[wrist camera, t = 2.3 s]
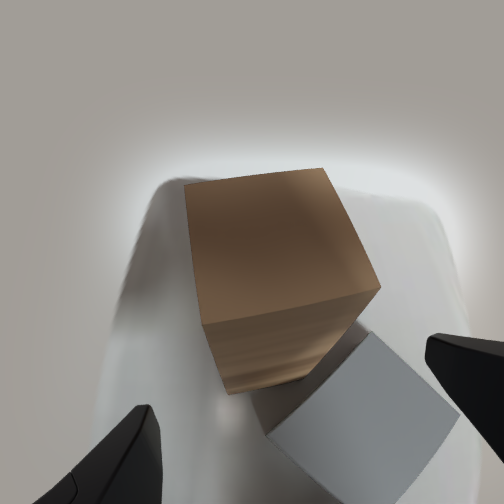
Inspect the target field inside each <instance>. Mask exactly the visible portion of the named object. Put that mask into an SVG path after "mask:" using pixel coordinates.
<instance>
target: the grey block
mask: <svg viewBox="0 0 504 504" xmlns="http://www.w3.org/2000/svg"><path fill="white" fill-rule="evenodd" d="M459 416H460V414H459V413H458V412H457V411H456V410H455V409H454V408H453V407H452V406H451V405H450V404H449V403H448V402H447V401H446V400H445V399H444V398H442V397H441V396H440V395H439V394H438V393H437V392H436V391H435V390H434V389H433V388H432V387H431V386H430V385H429V384H428V383H427V382H426V381H425V380H423V379H422V378H421V377H420V376H419V375H418V374H417V373H416V372H415V371H414V370H413V369H412V368H411V367H410V366H409V365H408V364H406V363H405V362H404V361H403V360H402V359H401V358H400V357H399V356H398V355H397V354H396V353H395V352H394V351H392V350H391V349H390V348H389V347H388V346H387V345H386V344H385V343H384V342H383V341H382V340H381V339H379V338H378V337H377V336H376V335H375V334H374V333H373V332H372V331H371V332H370V333H369V334H368V335H367V336H366V337H365V338H364V339H363V340H362V341H361V342H360V343H359V344H358V345H357V346H356V347H355V349H354V350H353V351H352V352H351V353H350V354H349V355H348V356H347V357H346V358H345V360H344V361H343V362H342V363H341V364H340V365H339V366H338V367H337V368H336V369H335V370H334V371H333V372H332V373H331V374H330V375H329V376H328V377H327V378H326V379H325V380H324V381H323V382H322V383H321V384H320V385H319V386H318V387H317V388H316V389H315V390H314V391H313V392H312V393H311V394H310V395H309V396H308V397H307V398H306V399H305V400H304V401H303V402H302V403H301V404H300V405H299V406H298V407H297V408H296V409H295V410H293V411H292V412H291V413H290V414H289V415H288V416H287V417H286V418H285V419H284V420H283V421H281V422H280V423H279V424H278V425H277V426H276V427H275V428H273V429H272V430H271V431H270V432H269V433H268V434H267V435H265V436H266V437H267V438H268V439H269V440H270V441H271V442H272V443H273V444H274V445H275V446H276V447H277V448H278V449H280V450H281V451H282V452H283V453H284V454H285V455H286V456H287V457H288V458H289V459H290V460H291V461H292V462H293V463H295V464H296V465H297V466H298V467H299V468H300V469H301V470H302V471H303V472H305V473H306V474H307V475H308V476H309V477H310V478H311V479H312V480H314V481H315V482H316V483H317V484H318V485H319V486H321V487H322V488H323V489H324V490H325V491H327V492H328V493H329V494H330V495H331V496H333V497H334V498H335V499H336V500H338V501H339V502H340V503H341V504H395V503H396V502H397V501H398V500H399V498H400V497H401V496H402V495H403V494H404V493H405V492H406V490H407V489H408V488H409V487H410V486H411V484H412V483H413V482H414V481H415V479H416V478H417V477H418V476H419V474H420V473H421V472H422V471H423V469H424V468H425V467H426V465H427V464H428V463H429V461H430V460H431V459H432V457H433V456H434V454H435V453H436V452H437V450H438V449H439V447H440V446H441V445H442V443H443V442H444V440H445V439H446V437H447V436H448V434H449V433H450V431H451V429H452V428H453V426H454V425H455V423H456V421H457V420H458V418H459Z"/></svg>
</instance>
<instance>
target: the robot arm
mask: <svg viewBox="0 0 504 504" xmlns="http://www.w3.org/2000/svg"><path fill="white" fill-rule="evenodd" d="M425 362H426V364H427V365H428V367H429V368H430V370H431V371H432V373H433V374H434V375H435V377H436V378H437V380H438V381H439V383H440V384H441V386H442V387H443V389H444V390H445V391H446V393H447V394H448V395H449V397H450V398H451V399H452V400H453V401H454V403H455V404H456V405H457V406H458V407H459V409H460V410H461V411H462V412H463V413H464V415H465V416H466V417H467V418H468V419H469V421H470V422H471V423H472V424H473V425H474V427H475V428H476V429H477V430H478V432H479V433H480V434H481V435H482V437H483V438H484V439H485V440H486V442H487V443H488V444H489V445H490V447H491V448H492V449H493V450H494V452H495V453H496V454H497V455H498V457H499V458H500V459H501V461H502V462H503V463H504V342H500V341H492V340H484V339H477V338H470V337H463V336H456V335H449V334H442V333H436V334H434V335H431V336H429V337H428V339H427V343H426V351H425ZM162 482H163V467H162V452H161V435H160V427H159V424H158V421H157V419H156V416H155V414H154V411H153V409H152V407H151V406H150V405H149V404H146V405H137V406H135V407H134V408H133V409H132V410H131V411H130V412H129V413H128V414H127V416H126V417H125V418H124V419H123V420H122V421H121V422H120V423H119V424H118V425H117V426H116V427H115V428H114V429H113V430H112V431H111V432H110V433H109V434H108V435H107V436H106V437H105V438H104V439H103V440H102V441H101V442H100V443H99V444H98V445H97V446H96V447H95V448H94V449H93V450H91V451H90V452H89V453H88V454H87V455H86V456H85V457H84V458H83V459H82V461H80V462H79V463H78V464H77V465H76V466H75V467H74V468H73V469H72V470H71V472H69V473H68V474H67V475H66V476H65V477H64V478H63V479H62V480H61V481H59V483H57V484H56V485H55V486H54V487H53V488H52V489H51V490H49V491H48V492H47V493H46V494H45V495H43V496H42V497H41V498H39V499H38V500H37V501H35V502H34V503H33V504H162Z"/></svg>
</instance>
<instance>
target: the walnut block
mask: <svg viewBox="0 0 504 504" xmlns="http://www.w3.org/2000/svg"><path fill="white" fill-rule="evenodd" d="M184 188H185V199H186V208H187V217H188V226H189V235H190V243H191V251H192V259H193V267H194V274H195V281H196V288H197V295H198V302H199V309H200V315H201V322H202V326H203V329H204V332H205V335H206V338H207V340H208V343H209V346H210V349H211V352H212V354H213V357H214V360H215V362H216V365H217V368H218V370H219V373H220V376H221V378H222V381H223V384H224V386H225V389H226V391H227V394H228V395H230V394H236V393H241V392H247V391H252V390H257V389H261V388H266V387H271V386H275V385H280V384H284V383H288V382H292V381H296V380H300V379H304V378H305V377H306V376H307V375H308V374H309V372H310V371H311V370H312V369H313V368H314V367H315V366H316V365H317V364H318V363H319V362H320V360H321V359H322V358H323V357H324V356H325V355H326V354H327V353H328V352H329V350H330V349H331V348H332V347H333V346H334V345H335V344H336V342H337V341H338V340H339V339H340V338H341V337H342V335H343V334H344V333H345V332H346V331H347V329H348V328H349V327H350V326H351V325H352V324H353V322H354V321H355V320H356V319H357V317H358V316H359V315H360V314H361V312H362V311H363V310H364V309H365V307H366V306H367V305H368V304H369V302H370V301H371V300H372V299H373V297H374V296H375V295H376V293H377V292H378V291H379V290H380V288H381V285H380V283H379V281H378V278H377V276H376V274H375V272H374V269H373V267H372V265H371V263H370V260H369V258H368V256H367V254H366V252H365V250H364V247H363V245H362V243H361V241H360V239H359V237H358V235H357V233H356V231H355V229H354V227H353V224H352V222H351V220H350V218H349V216H348V214H347V212H346V210H345V208H344V206H343V205H342V203H341V201H340V199H339V197H338V195H337V193H336V191H335V189H334V187H333V185H332V183H331V182H330V180H329V178H328V176H327V174H326V173H325V171H324V169H323V168H316V169H304V170H294V171H284V172H275V173H267V174H259V175H250V176H243V177H235V178H228V179H221V180H214V181H207V182H201V183H195V184H188V185H184Z"/></svg>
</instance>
